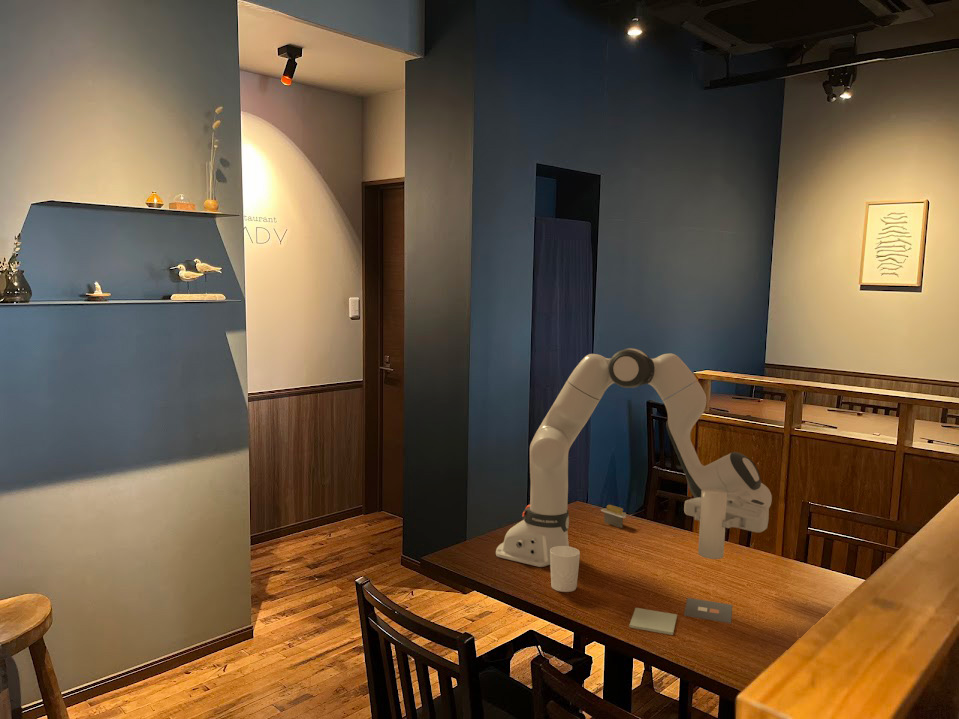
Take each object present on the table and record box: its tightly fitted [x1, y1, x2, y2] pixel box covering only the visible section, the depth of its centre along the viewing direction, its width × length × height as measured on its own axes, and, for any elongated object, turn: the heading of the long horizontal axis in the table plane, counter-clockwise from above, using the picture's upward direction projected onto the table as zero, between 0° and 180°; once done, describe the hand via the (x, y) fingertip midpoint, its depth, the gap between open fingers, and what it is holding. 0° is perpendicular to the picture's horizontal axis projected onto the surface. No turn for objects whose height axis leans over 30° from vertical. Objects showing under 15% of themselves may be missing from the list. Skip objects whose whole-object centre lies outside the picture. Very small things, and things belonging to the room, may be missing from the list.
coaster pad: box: [628, 607, 678, 636], centre depth 173 cm, size 10×10×1 cm
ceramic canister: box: [697, 488, 727, 560], centre depth 177 cm, size 6×6×16 cm
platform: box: [600, 504, 627, 529], centre depth 244 cm, size 12×18×7 cm, turn 39°
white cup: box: [549, 545, 581, 593], centre depth 192 cm, size 8×8×10 cm
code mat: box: [683, 597, 733, 624], centre depth 180 cm, size 11×11×1 cm
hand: (711, 520), depth 177 cm, fingers closed on ceramic canister, 6 cm apart
